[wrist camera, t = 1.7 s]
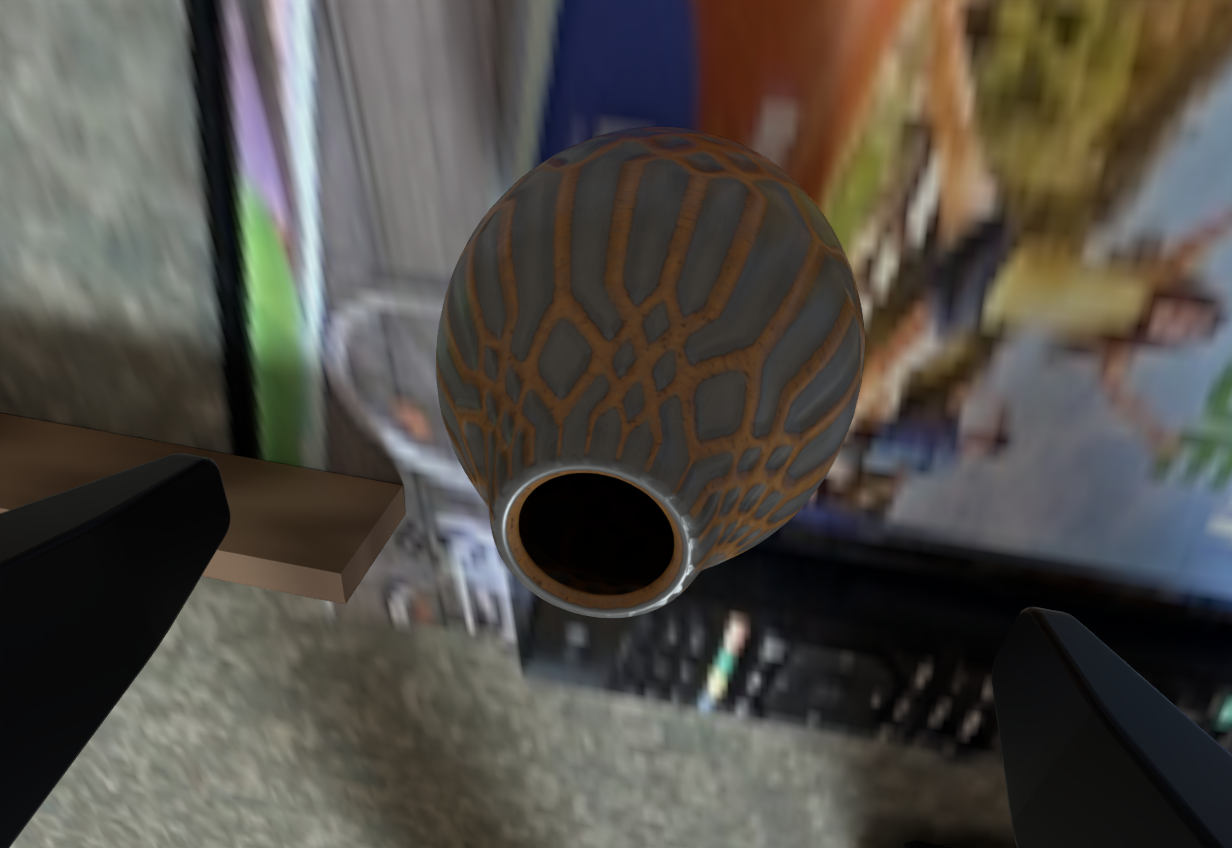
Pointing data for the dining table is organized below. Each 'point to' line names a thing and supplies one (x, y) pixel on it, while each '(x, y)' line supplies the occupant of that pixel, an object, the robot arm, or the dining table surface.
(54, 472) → the frame
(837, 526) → the dining table surface
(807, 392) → the vase
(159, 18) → the dining table surface
